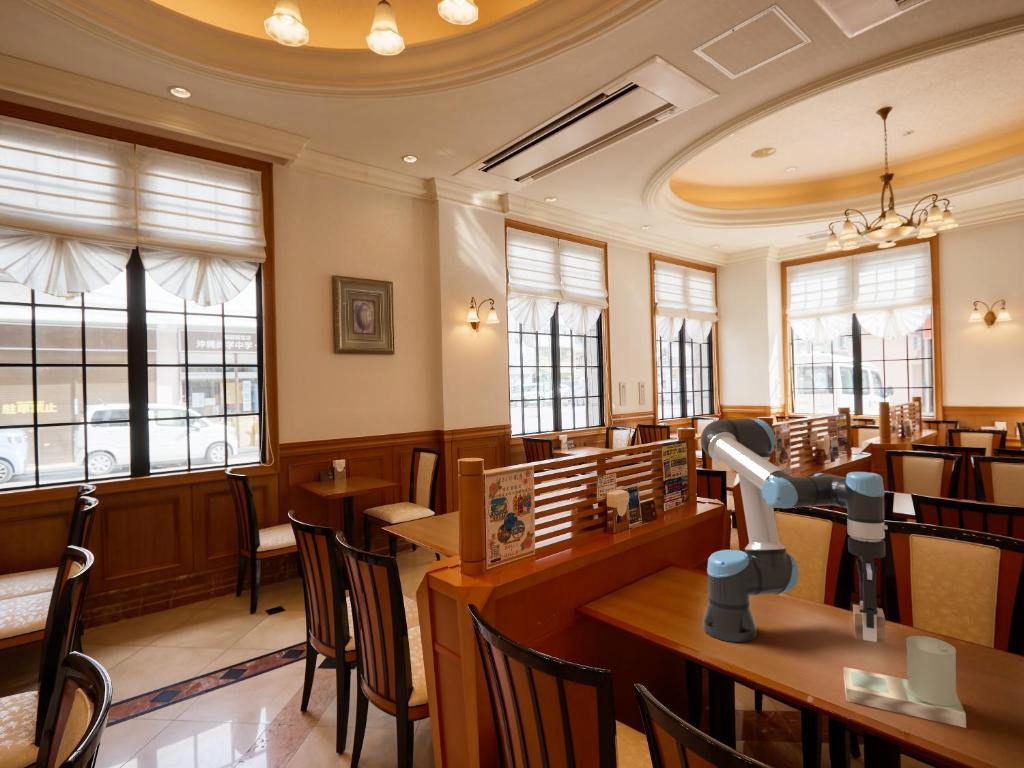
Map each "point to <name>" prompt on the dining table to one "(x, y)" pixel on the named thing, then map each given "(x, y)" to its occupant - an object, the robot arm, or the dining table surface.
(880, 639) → the cube
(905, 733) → the dining table surface
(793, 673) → the dining table surface
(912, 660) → the can
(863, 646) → the dining table surface
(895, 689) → the board
